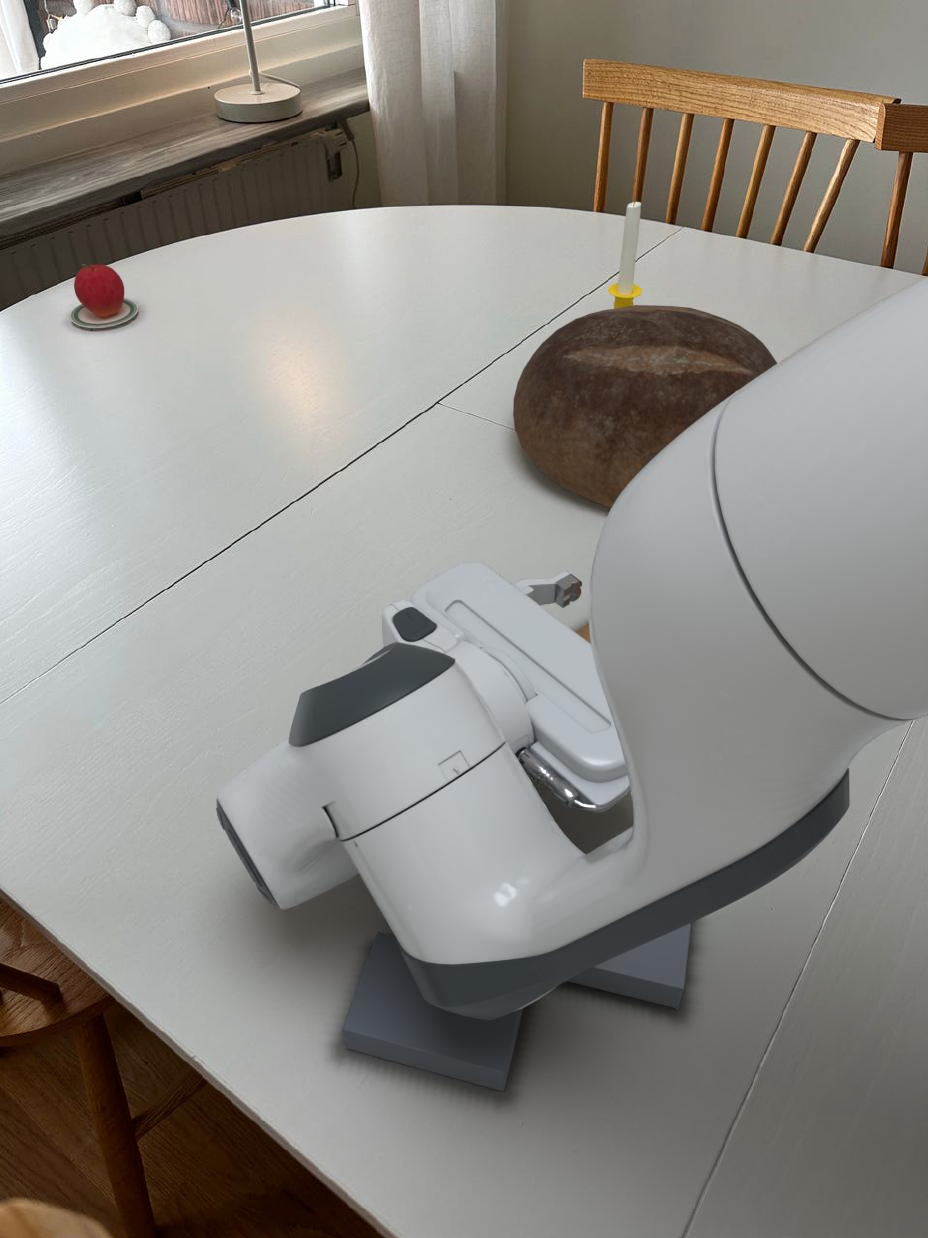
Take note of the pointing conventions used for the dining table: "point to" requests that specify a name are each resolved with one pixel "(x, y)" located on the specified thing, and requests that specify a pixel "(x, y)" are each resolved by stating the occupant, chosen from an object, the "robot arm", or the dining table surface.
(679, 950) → the grey rectangular blocks
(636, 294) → the candle
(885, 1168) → the dining table surface
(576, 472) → the bread
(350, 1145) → the dining table surface
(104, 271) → the apple
